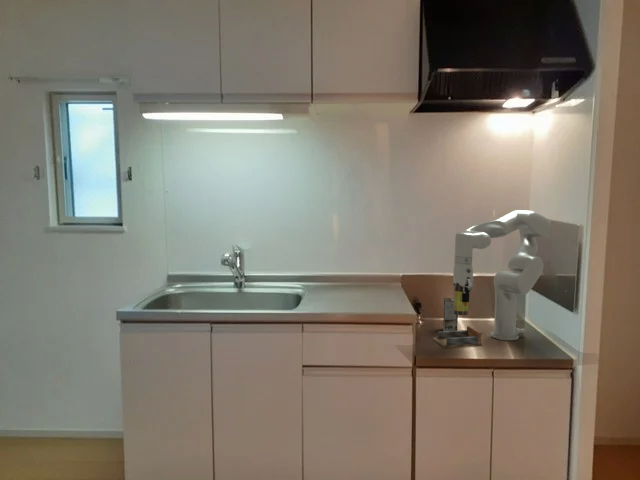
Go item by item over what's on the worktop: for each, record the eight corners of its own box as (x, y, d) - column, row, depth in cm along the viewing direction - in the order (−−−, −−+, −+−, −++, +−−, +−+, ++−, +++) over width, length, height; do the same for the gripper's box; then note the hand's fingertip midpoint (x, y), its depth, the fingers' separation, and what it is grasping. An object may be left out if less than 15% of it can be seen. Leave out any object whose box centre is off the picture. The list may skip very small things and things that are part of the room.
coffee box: (457, 334, 229) (458, 302, 227) (443, 334, 230) (444, 301, 229) (456, 329, 238) (457, 297, 236) (442, 328, 239) (443, 297, 237)
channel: (469, 337, 225) (469, 325, 225) (481, 345, 213) (482, 333, 213) (433, 339, 222) (433, 327, 222) (444, 347, 210) (444, 335, 210)
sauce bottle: (466, 317, 208) (468, 272, 206) (452, 315, 211) (454, 270, 209) (469, 313, 214) (471, 270, 212) (454, 312, 216) (456, 268, 214)
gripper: (481, 263, 202) (479, 304, 204) (461, 257, 219) (459, 295, 221) (465, 263, 200) (463, 305, 202) (446, 257, 217) (444, 296, 219)
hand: (461, 299), depth 211 cm, fingers closed on sauce bottle, 6 cm apart
